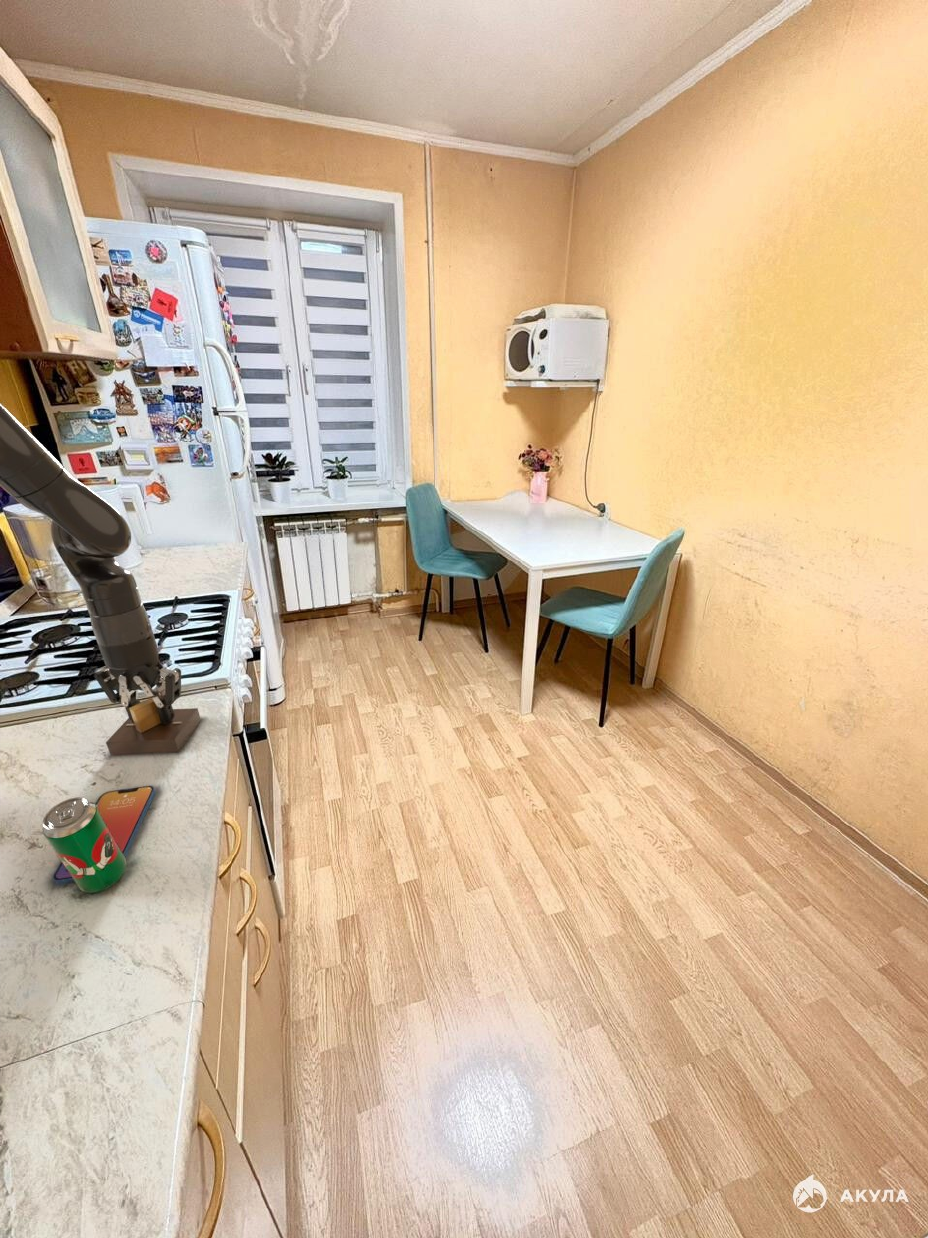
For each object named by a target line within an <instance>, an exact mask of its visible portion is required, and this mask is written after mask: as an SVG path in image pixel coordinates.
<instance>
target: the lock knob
mask: <svg viewBox="0 0 928 1238" xmlns="http://www.w3.org/2000/svg"><path fill="white" fill-rule="evenodd" d="M159 696H160V697H161V698H162V696H161V694H160V693H159ZM129 709H130V712H131V715H132V718H133V721H134V724H135V727H136V730H137V731H139V732H141V733H143V732H144V731H146V730H148V729H150V728H152V727H154V726H156V725H158V724H160V723H161V721H160V718H159V715H158V711H157V705H156V704H155V703H154V701H153V700H152V698H148V699H146V700H143V701H140V703H139V704H137V705H135V706H133V707H131V708H129Z"/></svg>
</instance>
